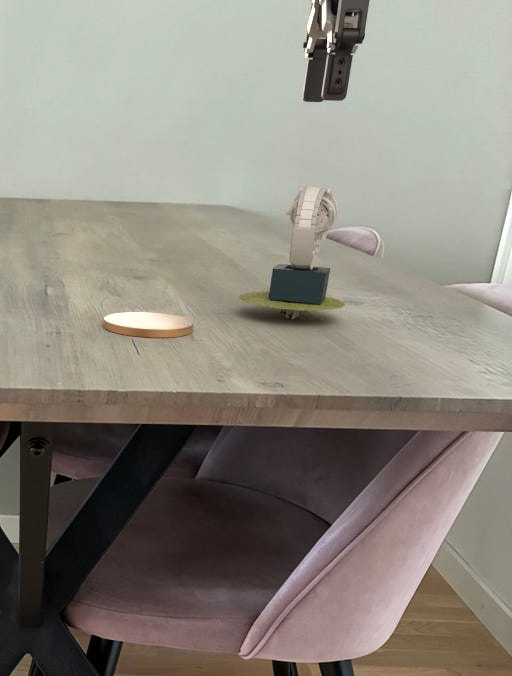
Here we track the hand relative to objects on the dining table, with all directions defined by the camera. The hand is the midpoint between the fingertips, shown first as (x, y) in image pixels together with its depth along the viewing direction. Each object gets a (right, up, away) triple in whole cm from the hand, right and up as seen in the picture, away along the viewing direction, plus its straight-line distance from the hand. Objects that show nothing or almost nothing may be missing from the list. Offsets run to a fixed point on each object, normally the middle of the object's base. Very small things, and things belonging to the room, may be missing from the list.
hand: (322, 101), depth 94 cm
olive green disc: (-1, -18, +10) cm, 21 cm away
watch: (0, -16, +10) cm, 19 cm away
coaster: (-17, -22, +2) cm, 28 cm away
